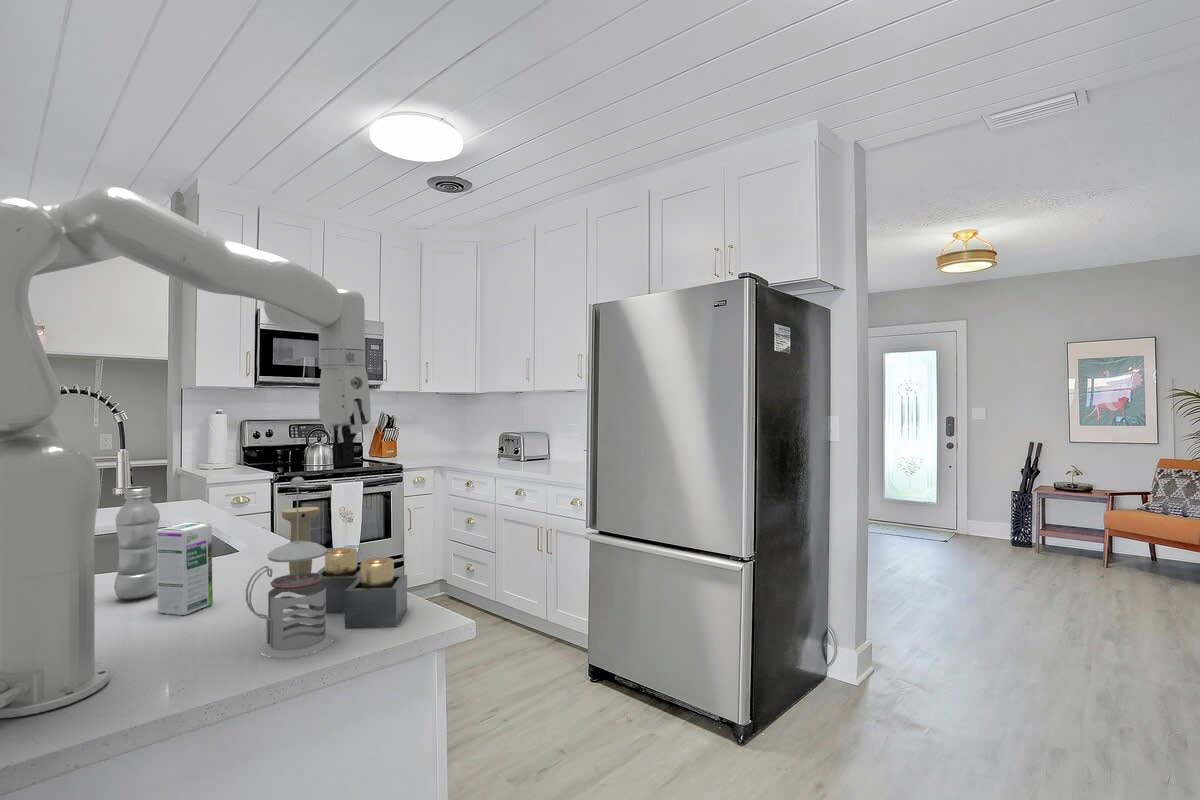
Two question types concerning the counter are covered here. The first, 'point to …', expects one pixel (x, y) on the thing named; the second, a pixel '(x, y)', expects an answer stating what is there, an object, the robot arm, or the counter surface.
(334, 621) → the counter surface
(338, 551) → the cream candle
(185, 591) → the syrup box
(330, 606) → the socket far
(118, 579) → the plastic bottle
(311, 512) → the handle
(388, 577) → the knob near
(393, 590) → the socket near
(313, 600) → the french press
